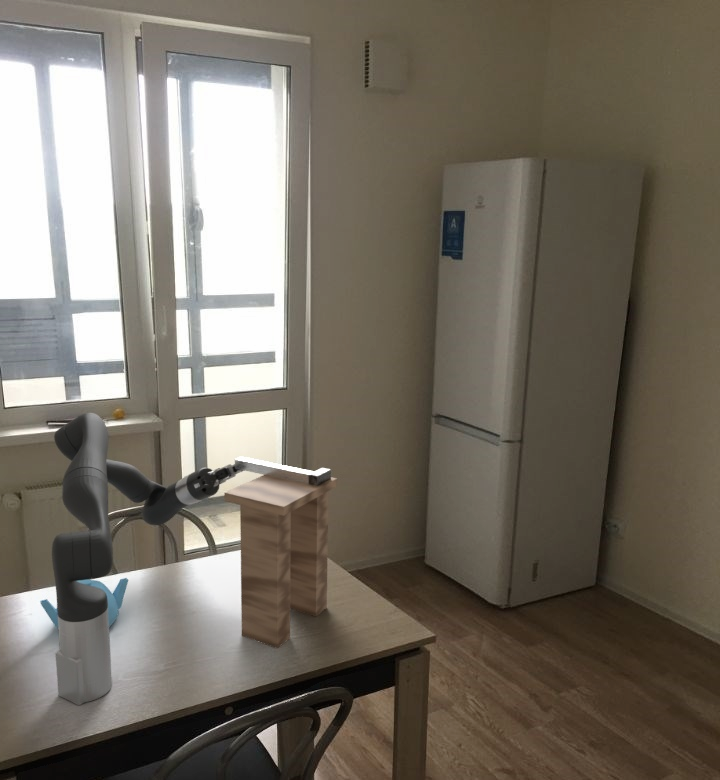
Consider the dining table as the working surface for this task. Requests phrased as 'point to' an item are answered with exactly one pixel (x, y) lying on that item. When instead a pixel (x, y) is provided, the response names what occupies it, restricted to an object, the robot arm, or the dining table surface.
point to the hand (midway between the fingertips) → (239, 466)
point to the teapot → (113, 599)
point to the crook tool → (283, 471)
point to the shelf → (281, 553)
